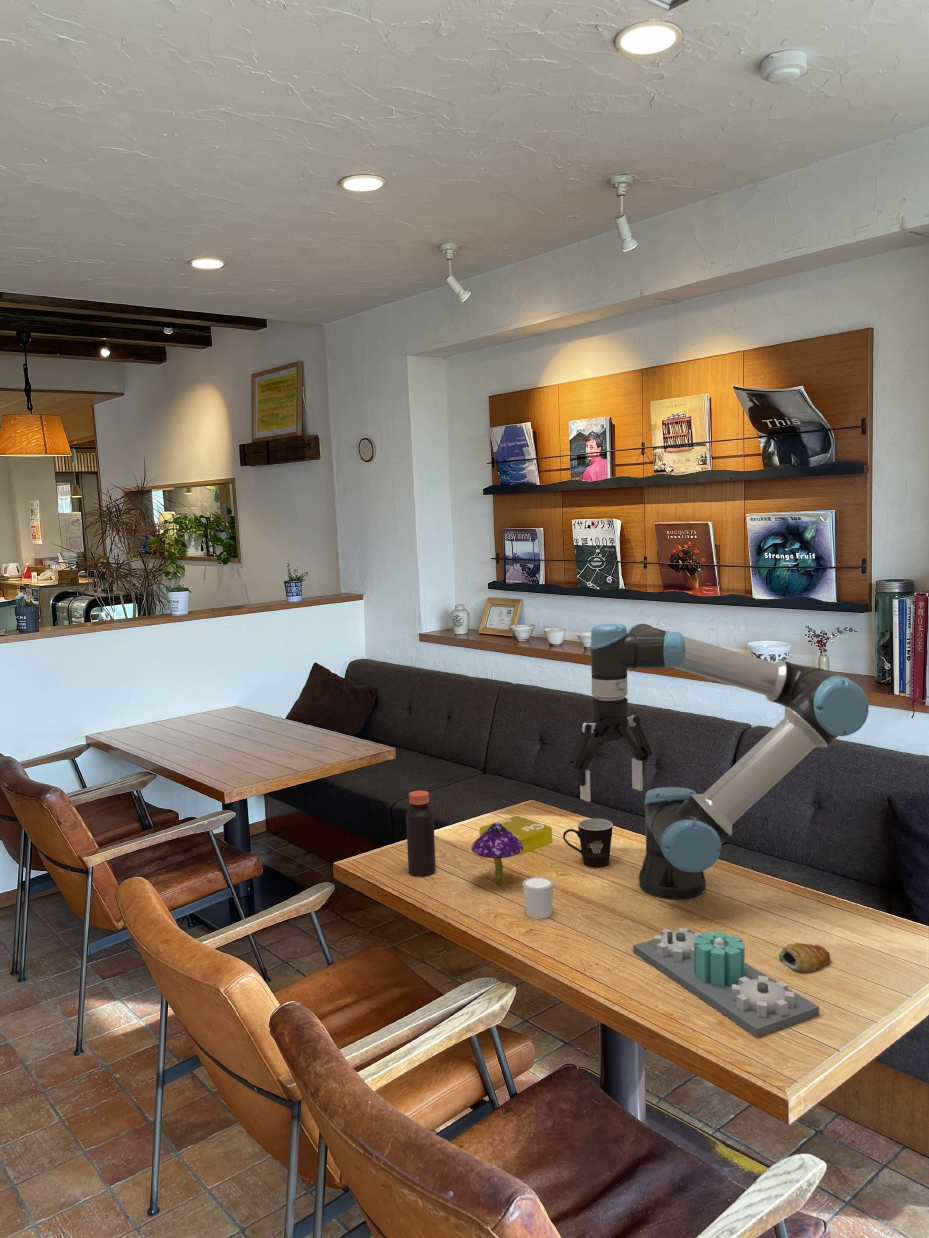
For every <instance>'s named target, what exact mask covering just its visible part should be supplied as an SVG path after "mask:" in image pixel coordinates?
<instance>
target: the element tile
mask: <svg viewBox="0 0 929 1238" xmlns="http://www.w3.org/2000/svg"><path fill="white" fill-rule="evenodd" d="M497 822H498V823H500V824H501V825H502V826H503V827H505V828H506V829H507V830H509V831H510V832H511V833H512V834H513V835H515V836H516V837H517V839H518V840H519V841H520V842H521V843H522V844H523V845H524V848H523V850H522V851H521V852H520V853H519V854H517V855H516V856H518V855H519V856H520V855H523V854H525V853H528V852H531V851H534V850H537V849H539V848H543V847H544V846H548V845H550V844H552V843H553V827H551V826H550V825H547V824H544V823H541V822H537V821H535V820H531V819H528V818H525V817H523V816H517V815H516V816H515V815H514V816H511V817H508V818H505V819H501V820H499V821H497ZM493 823H494V822H492V823H488V824H487V825H483V826H481V827H480V828H479V837H480V836H481V835H482V834H483V833H484V832H485V831H486V830H487V829H488V828H489V827H490V826H491V825H492V824H493Z"/></svg>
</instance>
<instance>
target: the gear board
mask: <svg viewBox="0 0 929 1238" xmlns="http://www.w3.org/2000/svg"><path fill="white" fill-rule="evenodd" d="M699 934H702V932H695V931H693V930H691V929H688V928H684V927H679V928H678V930H670V929H669V928H665V929H662V930H661V931H660V934H659V935H658V934H654V936H653V939H651V940H647V941H644V942H641V943H637V944H634V945H632V953H633V954H634V955H636V956H638V957H639V958H641V959H642V960H644V961H645V962H646V963H648V964H649V965H651V966H652V967H654V968H655V969H656V970H658V971H659V972H661V973H662V974H664V975H665V976H667V977H668V978H669V979H671V980H672V981H673V982H675V983H677V984H678V985H679V986H681V988H684V989H685V990H687V991H689V992H690V993H691V994H693V995H694V996H696V997H697V998H698V999H700V1000H701V1001H703V1002H704V1003H705V1004H707V1005H708V1006H710V1007H711V1008H713V1009H715V1010H716V1011H717V1012H718V1013H721V1014H722V1015H723V1016H724V1017H726V1018H727V1019H729V1020H730V1021H732V1022H733V1023H734V1024H736V1025H737V1026H739V1027H740V1028H742V1029H743V1030H745V1031H747V1032H748V1033H749V1034H751V1035H752V1036H753V1037H755V1038H760V1037H762V1036H765V1035H768V1034H771V1033H774V1032H776V1031H779V1030H782V1029H784V1028H785V1029H786V1028H788V1027H790V1026H793V1025H796V1024H798V1023H801V1022H805V1021H807V1020H809V1019H812V1018H815V1017H818V1016H820V1006H818V1005H817V1004H815V1003H813V1002H812V1001H810V1000H809V999H808V998H805V997H803V996H801V995H800V994H798V993H797V992H795V991H793V990H792V989H790V988H789V985H788V984H787V983H785V982H784V981H782V980H780V981H776V980H775V979H773V978H771V977H770V976H768V975H767V974H765V973H764V972H761V971H760V970H758V969H756V968H755V967H753V966H751V964H750V965H749V964H748V963H746V962H745V975H744V977H742V978H739V979H738V984H736V985H735V984H732V986H730V985H729V984H727V983H725V986H718V985H711V981H709V982H703V981H702V980H700V979H699V978H697V977H696V974H694V941H695V937H698V935H699ZM714 946H715V947H724V941H723V939H722V938H716V939H715V940H714Z"/></svg>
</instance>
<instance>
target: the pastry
mask: <svg viewBox="0 0 929 1238" xmlns="http://www.w3.org/2000/svg"><path fill="white" fill-rule="evenodd" d="M778 957H779V960H780V962H781V964H783V965H784V966H786V967H788V968H790V969H792V970H794V971H795V972H800V973H809V972H811V971H814V972H815V971H818V970H819V969H822V968H823V967H826V966H827V965H829V963H830V962H831V954H830V952H829V951H828V950H827V949H826V948H825V947H823V946H822V945H817V944H816V945H813V944H812V943H811V944H810V943H800V942H795V943H793V944H787V945H786V946H785V947H783V948H782V949H781V950H780V952H779V953H778Z"/></svg>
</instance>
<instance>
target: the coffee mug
mask: <svg viewBox="0 0 929 1238" xmlns="http://www.w3.org/2000/svg"><path fill="white" fill-rule="evenodd" d="M613 827H614V824H613V822H612V821H610V820H608V819H604V818H586V819H582V820H580V821H579V822H578V823H577V828H578V830H577V829H574V828H568V829H566V830H565V831H564V832H563V835H562V838H563V840H564V842H565V843H566V844H567V846H569V847H571V848H572V849H573V850H575V851H577V852H578V853H580V855H581V857H582V858H581V859H582V864H583V865H584V866H585V867H587V868H592V869H601V868H602V869H603V868H605V867H608V866H609V864H610V858H611V857H610V856H611V846H612V836H613V835H612V833H613ZM570 832H573V833H575V834H576V836H577V837H578V839H579V843H580V849H579V848H578V847H577V846H574V845H573V844H571V843H570V842H569V841H568V840H567V839H566V834H567V833H570Z"/></svg>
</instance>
